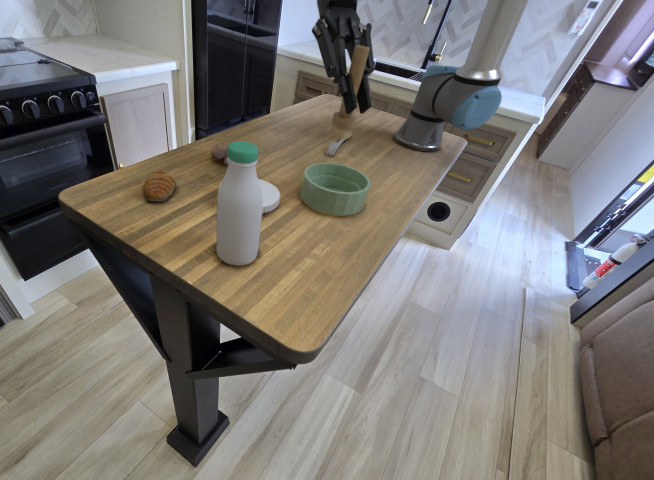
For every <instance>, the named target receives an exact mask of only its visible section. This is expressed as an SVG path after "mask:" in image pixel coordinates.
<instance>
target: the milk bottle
mask: <svg viewBox="0 0 654 480" xmlns="http://www.w3.org/2000/svg"><path fill="white" fill-rule="evenodd" d="M227 145H228V147H227V156H228V157H227V161H228V162H229V165H227V169H226V172H225V175H224V177H223V178H222V180H221V183H220V185H219V187H218V190H219V191H218V190H217V197H216V254H217V257H218V258H219V259H220V260H221V261H222V262H224V263H225V264H227V265H231V266H246V265H249V264H251V263H252V262H254V261H255V259H256V258H257V257H258V254H259V253H258V252H259V244H260V238H261V237H260V236H261V227H262V218H263V214H262V206H263V195H262V189H261V186H260V183H259V181H258V179H259V177H258V174H257V169H256V165H257V164H258V162H259V161H258V157H259V147H258V146H257V145H256V144H254V143H252V142H250V141H245V140H236V141H232V142H229V144H227Z"/></svg>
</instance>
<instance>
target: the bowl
mask: <svg viewBox="0 0 654 480" xmlns="http://www.w3.org/2000/svg"><path fill="white" fill-rule="evenodd" d="M371 186H372V182H371V180H370V178H369V177H368V176H367V175H366V174H365V173H364V172H362V171H361V170H359V169H357V168H354V167H351V166H349V165H346V164H342V163H336V162H316V163H313V164H310V165H309V166H308V165H307V167H305V169H304V170H303V174H302V179H301V185H300V190H299V197H300V199H301V200H302V201H303V203H304V204H305V205H306V206H308V207H309V208H311V209H312V210H315V211H317V212H319V213H323V214H327V215H331V216H332V215H333V216H340V217H341V216H353V215H355V214H357V213H359V212H361V211H362V210H363V209H364V206H365V204H366V201H367V198H368V195H369V192H370V190H371Z"/></svg>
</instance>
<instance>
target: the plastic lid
mask: <svg viewBox="0 0 654 480" xmlns="http://www.w3.org/2000/svg"><path fill="white" fill-rule="evenodd" d="M258 181H259V183H260V186H261V189H262V195H263V206H262V215H263V214H266V213H269V212H272V211H273V210H275V209H276V208H277V207H278V206H279V205H280V202H281V201H280V199H281V192H280V190H279V188H278V187H277V186H275V185H274V184H272V183H270V182H268V181H266V180H263V179H260V178H258ZM218 191H219V189H218V190H217V192H218Z"/></svg>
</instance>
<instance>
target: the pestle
mask: <svg viewBox="0 0 654 480" xmlns="http://www.w3.org/2000/svg"><path fill="white" fill-rule="evenodd" d="M369 49H370V48H369V47H366V46H360V45H356V46H355V48H354V53H353V57H352V61H351V60H350V66H349V70H348V72H347V74H351V76H352V81H353V86H354V91H355V96H356V99H357V94H358V91H359V87H360V83H361V79H362V76H363V72H364V68H365V64H366V61H367V57H368V53H369ZM356 121H357V115H355V114H354V111H353V112H351V113H350V114H346V110H345V105H344V100H343V98H342V99H341V103H340V108H339V111H335V112H334V113H333V117H332V120H331V125H330V130H329V134H330V135H331V136H332V137H334V138H337V139H341V138H343V139H346V138H347V139H351V137H352V134H353V131H354V128H355V124H356ZM347 139H346V140H347Z"/></svg>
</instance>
